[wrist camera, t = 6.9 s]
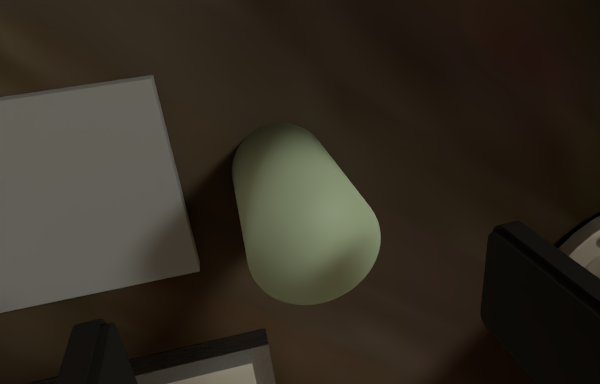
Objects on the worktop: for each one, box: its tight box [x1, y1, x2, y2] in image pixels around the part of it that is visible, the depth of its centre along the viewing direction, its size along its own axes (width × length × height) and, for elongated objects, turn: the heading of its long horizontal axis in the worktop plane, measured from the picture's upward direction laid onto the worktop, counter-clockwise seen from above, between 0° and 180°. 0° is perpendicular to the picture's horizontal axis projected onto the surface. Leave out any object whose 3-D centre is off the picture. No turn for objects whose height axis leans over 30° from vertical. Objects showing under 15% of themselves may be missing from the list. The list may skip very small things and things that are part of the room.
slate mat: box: [0, 75, 200, 313], centre depth 19 cm, size 9×9×1 cm
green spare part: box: [232, 123, 381, 305], centre depth 18 cm, size 4×4×7 cm
